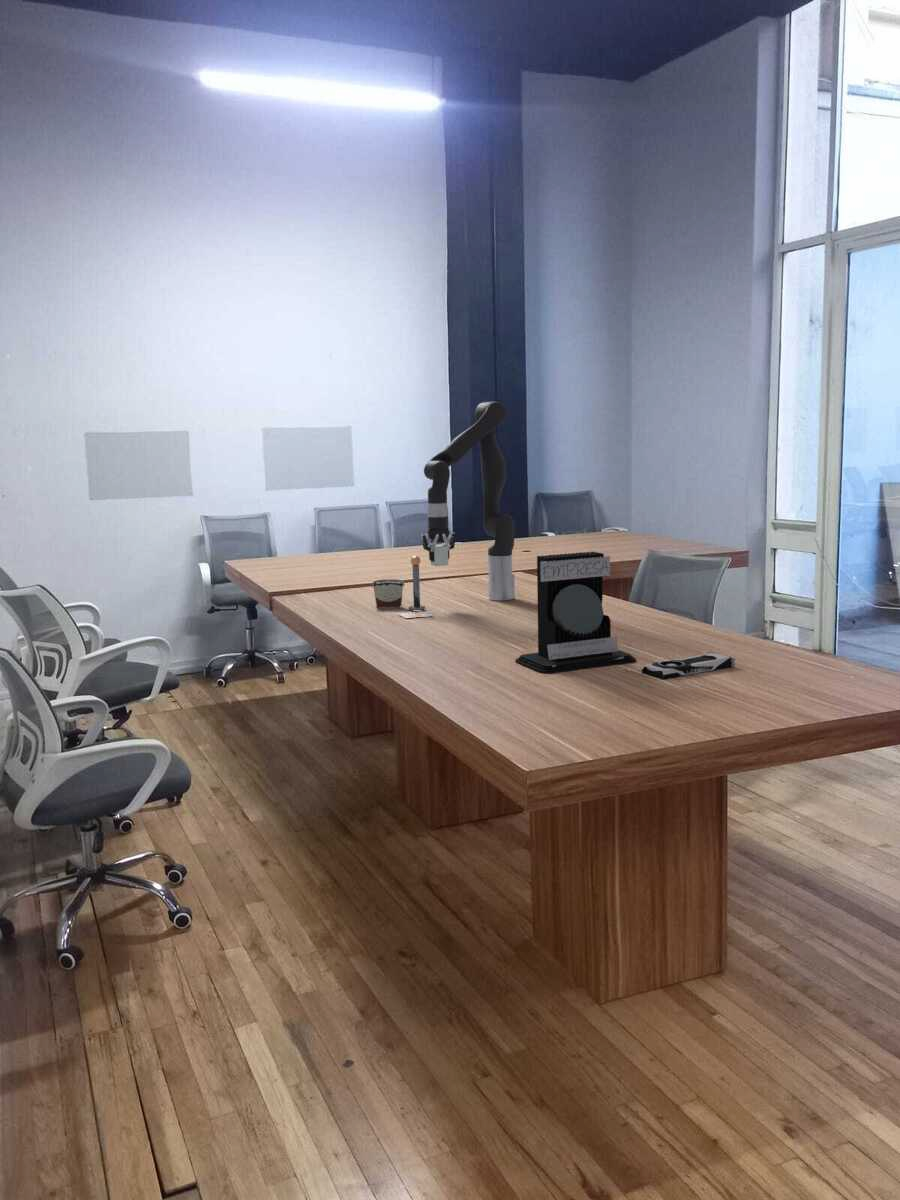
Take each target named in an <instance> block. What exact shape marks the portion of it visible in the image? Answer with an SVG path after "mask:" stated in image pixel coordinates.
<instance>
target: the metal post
mask: <svg viewBox="0 0 900 1200" xmlns="http://www.w3.org/2000/svg"><path fill="white" fill-rule="evenodd" d="M410 563H411V565H412V588H413V589H412V590H413V592H412V594H413V595H412V597H413V605H410V606H408V611H409V610H424V609H425V610H426V605H422V604H421V588H420V585H421V584H420V583H421V581H420V564H421V558H420V557H419V556H418V555H417V556H416V555H413V556H412V557H411V559H410ZM425 610H424V611H425Z"/></svg>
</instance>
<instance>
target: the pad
mask: <svg viewBox="0 0 900 1200" xmlns="http://www.w3.org/2000/svg"><path fill="white" fill-rule="evenodd" d="M412 612H414V613H415V612H416V611H410V612H404V613H403V612H401V613H397V614H398V615H400V616H403V617H405V618H411V616H412V615H413V614H414V613H413V614H411V613H412ZM420 612H422V613H421V614H422V616H421V617H425V616H433V617H434V615H433V614H430V613H428V612H425V611H420ZM405 613H406V614H405ZM408 613H409V614H408ZM410 614H411V615H410ZM419 614H420V613H419ZM398 615H397V616H398ZM406 615H407V616H406ZM409 615H410V617H409ZM400 616H399V617H400ZM414 616H415V614H414ZM414 616H413V617H414ZM403 617H402V618H403ZM405 618H404V619H405ZM425 618H426V617H425Z"/></svg>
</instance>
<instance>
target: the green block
mask: <svg viewBox="0 0 900 1200" xmlns="http://www.w3.org/2000/svg"><path fill="white" fill-rule="evenodd" d="M433 552H434V562H431V561H430V565H431V566H434V567H441V566H449V559H448V546H443V545H442V544H441V545H440V544H438V545H437V544H436V546H435V547H434V551H433Z"/></svg>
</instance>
